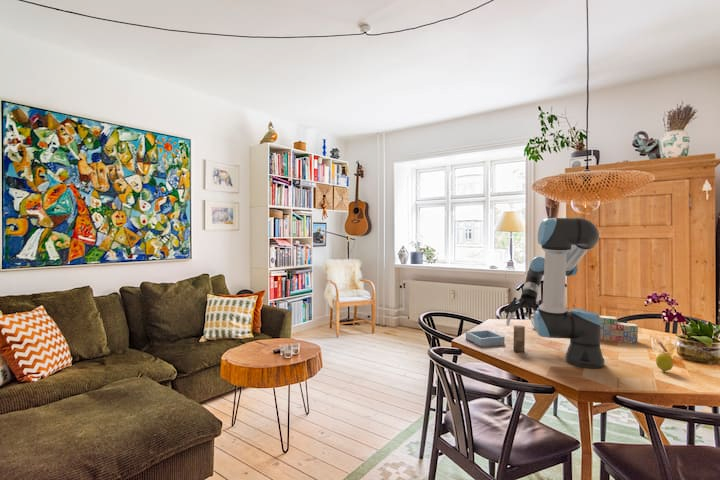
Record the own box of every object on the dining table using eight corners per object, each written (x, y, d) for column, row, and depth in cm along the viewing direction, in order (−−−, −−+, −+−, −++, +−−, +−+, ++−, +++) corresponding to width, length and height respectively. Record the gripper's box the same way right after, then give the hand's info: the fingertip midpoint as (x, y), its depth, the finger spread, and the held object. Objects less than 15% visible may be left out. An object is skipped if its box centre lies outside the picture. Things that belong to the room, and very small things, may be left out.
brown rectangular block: (526, 352, 185) (527, 327, 185) (518, 353, 184) (518, 328, 184) (519, 349, 190) (520, 325, 190) (511, 349, 189) (511, 325, 188)
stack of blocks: (635, 341, 205) (635, 318, 205) (637, 344, 200) (638, 320, 199) (588, 336, 215) (589, 314, 214) (590, 338, 209) (590, 316, 209)
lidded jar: (526, 327, 233) (526, 312, 233) (538, 325, 238) (538, 310, 238) (542, 331, 223) (542, 315, 223) (553, 329, 228) (554, 313, 228)
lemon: (654, 371, 160) (655, 352, 160) (657, 368, 164) (657, 349, 164) (671, 375, 156) (672, 355, 156) (673, 371, 160) (674, 352, 160)
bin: (504, 344, 198) (504, 336, 198) (480, 346, 194) (480, 338, 194) (487, 337, 211) (488, 329, 211) (465, 339, 207) (465, 331, 207)
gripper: (556, 299, 197) (549, 334, 186) (507, 294, 213) (497, 326, 202) (554, 290, 193) (546, 326, 182) (504, 286, 209) (494, 318, 197)
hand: (521, 326), depth 192 cm, fingers open, 13 cm apart
